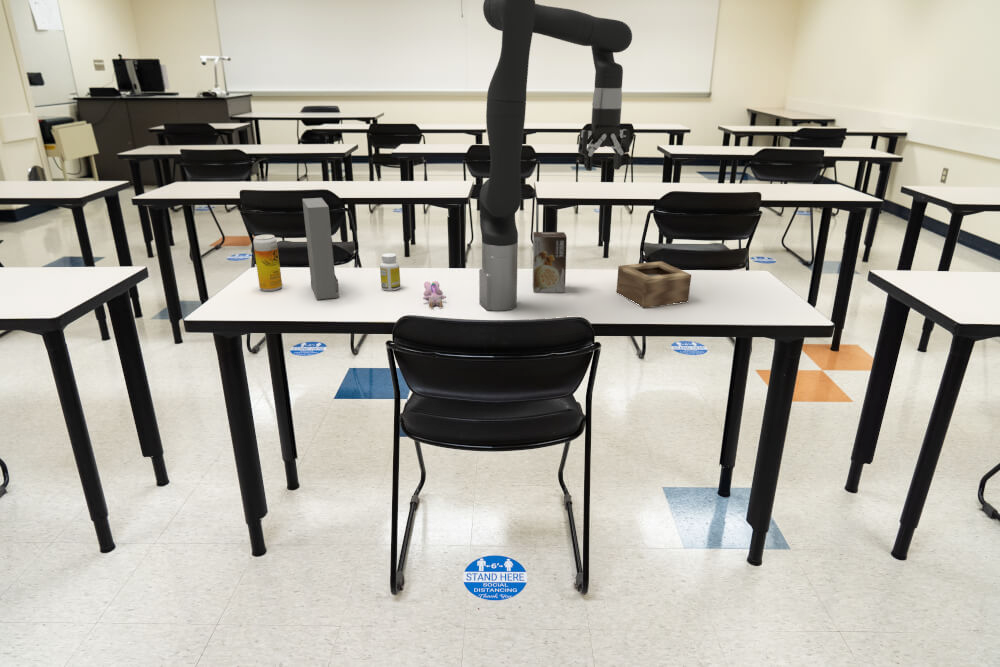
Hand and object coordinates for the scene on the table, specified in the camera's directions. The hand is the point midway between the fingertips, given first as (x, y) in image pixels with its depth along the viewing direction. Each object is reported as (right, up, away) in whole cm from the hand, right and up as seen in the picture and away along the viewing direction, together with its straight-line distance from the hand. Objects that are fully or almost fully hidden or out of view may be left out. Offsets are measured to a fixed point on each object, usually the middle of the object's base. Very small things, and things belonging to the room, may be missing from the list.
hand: (602, 169), depth 175 cm
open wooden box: (+14, -34, +4) cm, 37 cm away
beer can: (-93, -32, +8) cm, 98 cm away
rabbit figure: (-46, -36, +1) cm, 58 cm away
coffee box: (-14, -32, +10) cm, 36 cm away
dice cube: (+14, -34, +3) cm, 37 cm away
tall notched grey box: (-77, -33, +6) cm, 84 cm away
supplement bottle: (-59, -32, +9) cm, 68 cm away
